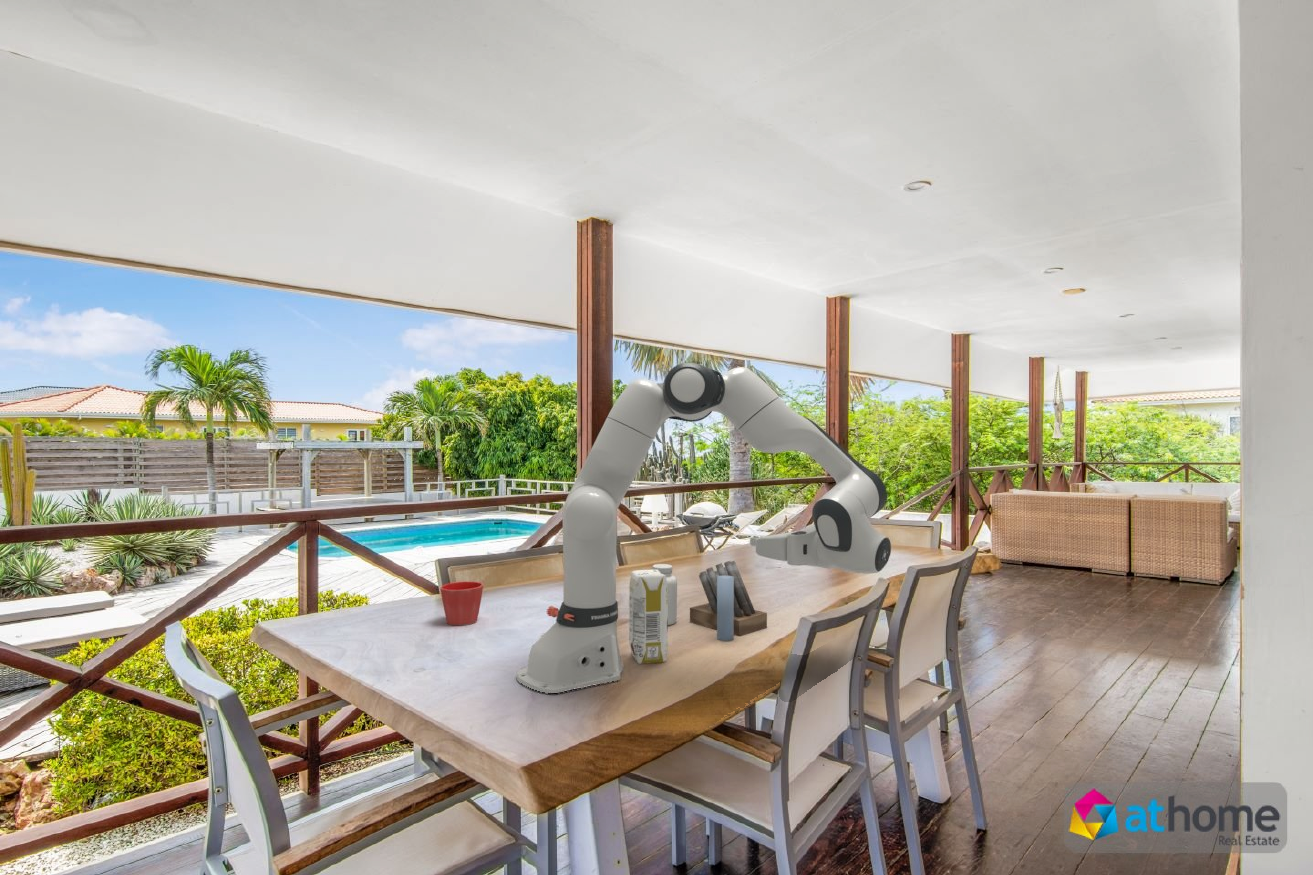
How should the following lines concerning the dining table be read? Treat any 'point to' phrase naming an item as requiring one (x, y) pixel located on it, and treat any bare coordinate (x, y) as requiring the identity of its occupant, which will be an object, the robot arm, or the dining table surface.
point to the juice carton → (648, 616)
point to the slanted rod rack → (743, 608)
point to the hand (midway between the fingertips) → (765, 538)
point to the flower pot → (461, 602)
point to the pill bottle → (669, 590)
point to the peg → (725, 608)
